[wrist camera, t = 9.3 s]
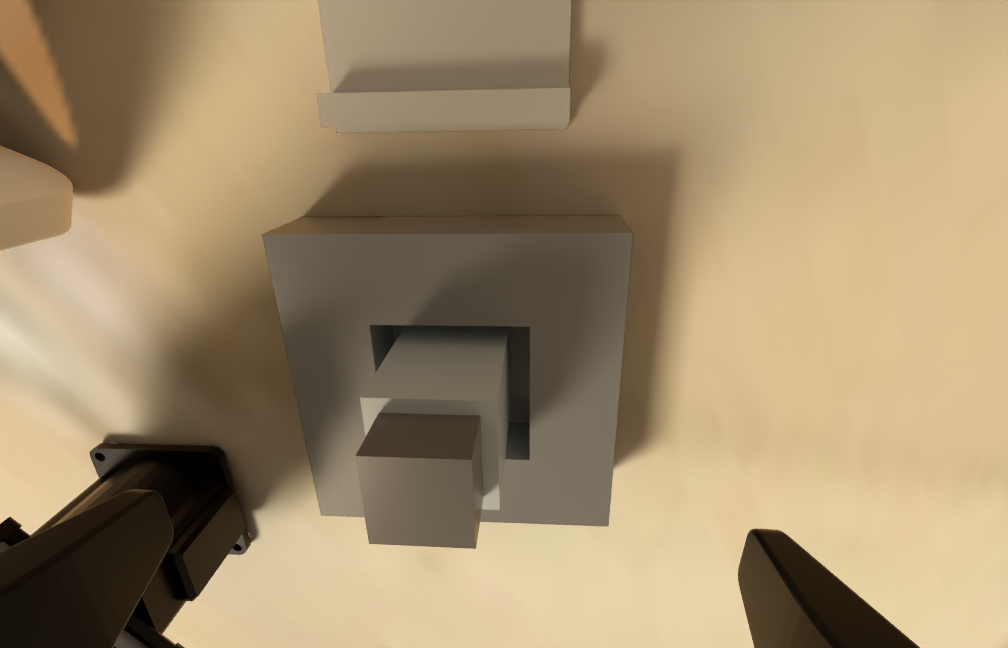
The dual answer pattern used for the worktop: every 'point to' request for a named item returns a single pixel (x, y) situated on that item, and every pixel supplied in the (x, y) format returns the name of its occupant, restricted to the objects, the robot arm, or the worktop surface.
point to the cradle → (445, 65)
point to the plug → (435, 435)
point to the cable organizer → (31, 200)
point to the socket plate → (463, 302)
